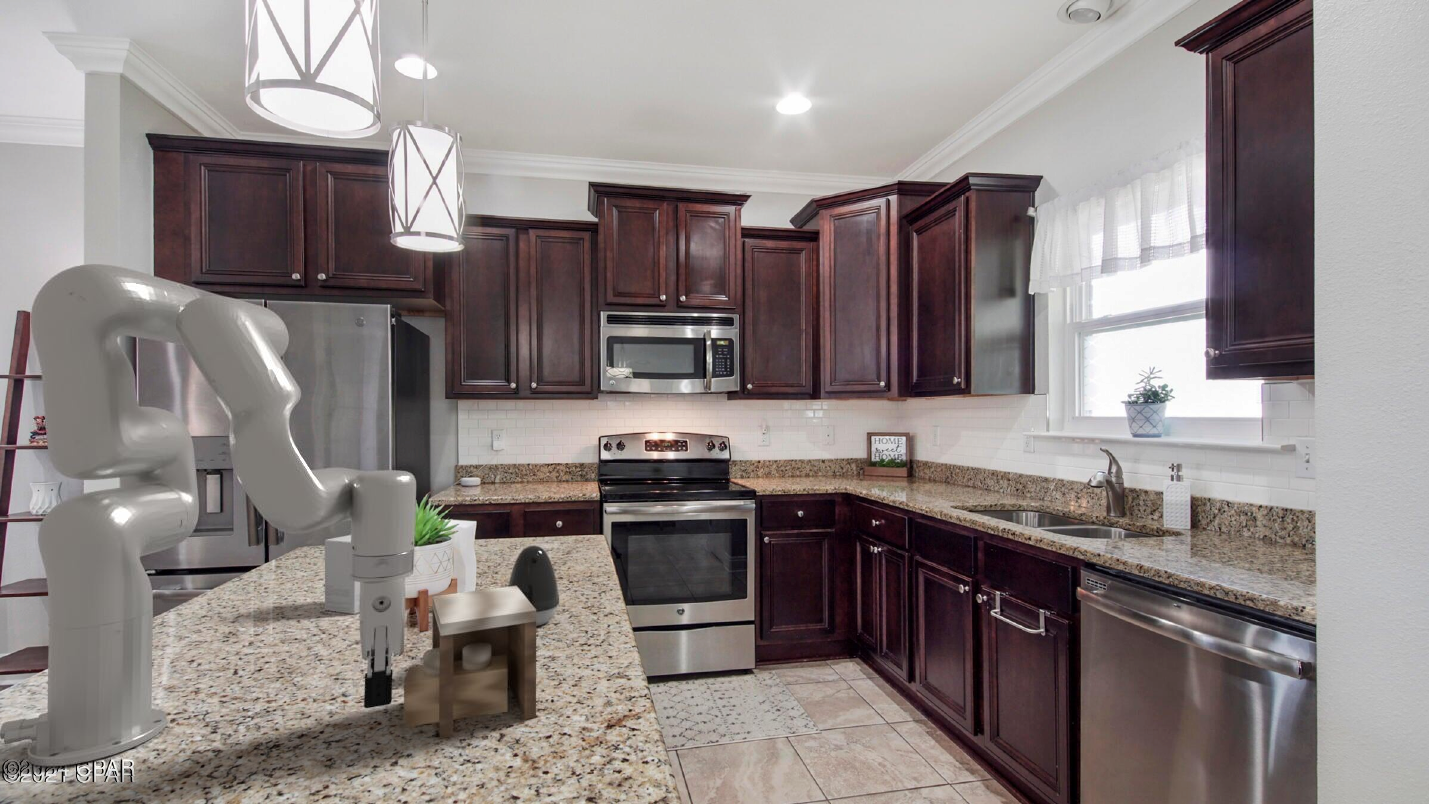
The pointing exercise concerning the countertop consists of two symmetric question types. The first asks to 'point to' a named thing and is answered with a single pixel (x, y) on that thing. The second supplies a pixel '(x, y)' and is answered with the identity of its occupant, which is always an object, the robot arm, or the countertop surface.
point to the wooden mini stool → (486, 620)
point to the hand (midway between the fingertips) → (377, 703)
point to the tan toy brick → (457, 685)
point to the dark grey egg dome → (536, 582)
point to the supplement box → (340, 577)
